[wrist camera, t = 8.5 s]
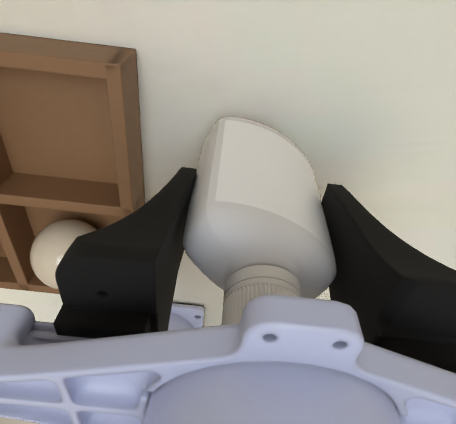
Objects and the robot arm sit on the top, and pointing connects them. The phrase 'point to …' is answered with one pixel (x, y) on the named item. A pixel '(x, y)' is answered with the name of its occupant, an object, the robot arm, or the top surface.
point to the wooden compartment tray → (64, 143)
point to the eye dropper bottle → (257, 217)
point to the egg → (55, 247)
